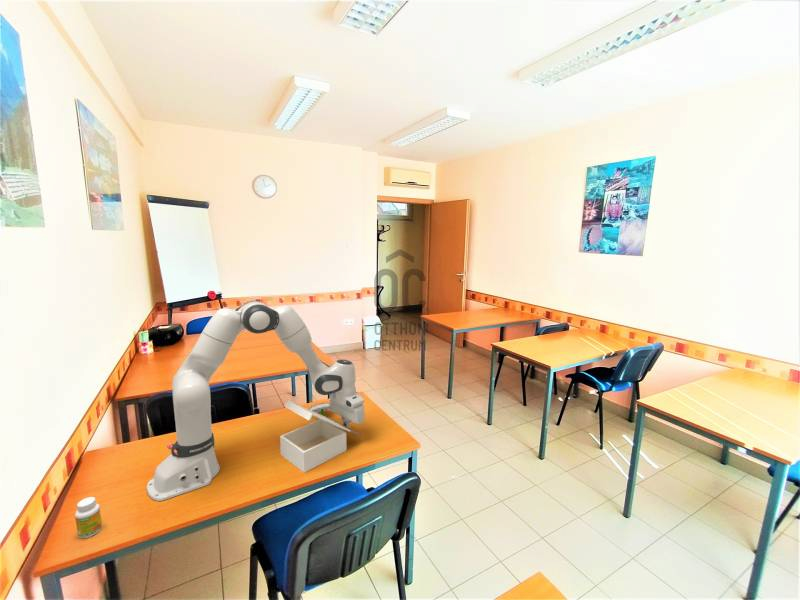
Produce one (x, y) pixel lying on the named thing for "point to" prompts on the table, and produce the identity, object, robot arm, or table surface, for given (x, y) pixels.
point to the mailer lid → (308, 415)
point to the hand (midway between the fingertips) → (346, 426)
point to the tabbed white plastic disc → (320, 408)
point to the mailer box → (313, 444)
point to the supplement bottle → (88, 518)
